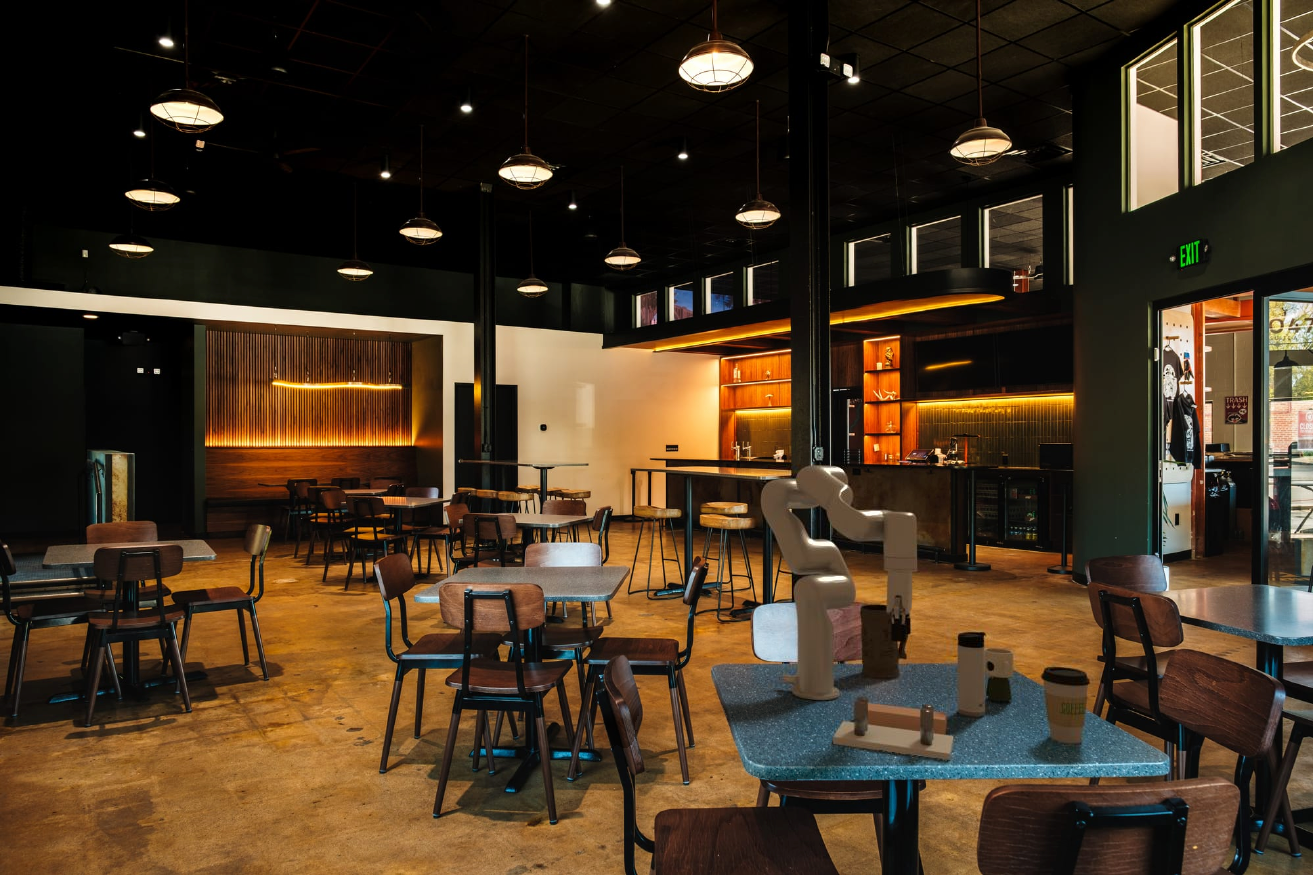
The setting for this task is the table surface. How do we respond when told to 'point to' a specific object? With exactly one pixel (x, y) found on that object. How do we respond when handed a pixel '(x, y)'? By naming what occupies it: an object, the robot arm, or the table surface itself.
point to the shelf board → (903, 718)
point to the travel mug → (971, 674)
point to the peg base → (894, 741)
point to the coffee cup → (1065, 702)
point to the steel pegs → (925, 720)
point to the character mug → (998, 673)
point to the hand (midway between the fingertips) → (901, 637)
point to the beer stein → (879, 643)
